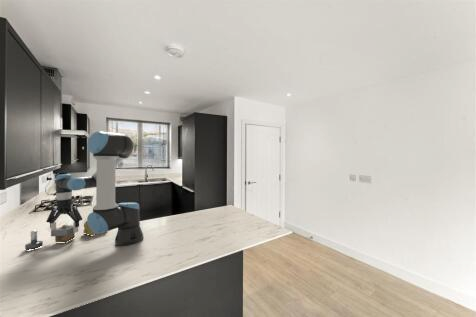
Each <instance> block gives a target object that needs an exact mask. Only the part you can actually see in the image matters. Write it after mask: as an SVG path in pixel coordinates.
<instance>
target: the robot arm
mask: <svg viewBox="0 0 476 317" xmlns="http://www.w3.org/2000/svg"><path fill="white" fill-rule="evenodd" d="M86 144H87V145H86V146H87V149H88V152H89V153H90V154H92V157H93V158H94V159H95V161H96V171H95V172H94V173H93V174H92V176H91V175H90V176H80V177H79V176H78V177H73V176H72V174H69V173H67V174H56V176H55V199H56V200H55V204H56V205H55V206H51V210H50V213H49V215H48V216H47V219H46V223H49V227H50V231H51V230H54V229H57V220H58V219H59V217H60V215H67V216H69V218H71V219H72V221H73V224H72V225H73V233H75V234H76V233H78V232H79V227H80V221H83V217H82V216H81V212H80V211H79V210H78V206H77V205H75V206H72V205H73V191H81V190H83V189H92V188H96V190H95V191H96V192H95V193H96V194H95V195H96V199H95V200H96V204H95V205H94V206H93V207H92V212H90V213H88V215H87V218H86V221H87V223H88V226H89V228H90V229H91V231H92V232H94V233H96V234H98V235H101V234H103V233H107V232H109V231H113V230H115V229H117V232H116V235H115V239H114V245H116V246H118V247H119V246H123V247H124V246H130V245H134V244H137V243H139V242H141V241H142V240H144V233H143V230H142V227H141V224H140V223H141V222H140V221H141V220H140V210H141V209H140V204H139V203H138V202H120V203H117V201H116V168H117V167H118V166H119V165H120V164H121V163H122V162H123V160H125V159H128V158H129V157H130V156H131V155H132V153H133V150H134V142H133V140H132V139H131V137H130V136H128V135H127V134H123V133H116V132H110V131H95V132H93V133H91V135H90V136H89V138H88V140H87V143H86ZM100 233H101V234H100Z"/></svg>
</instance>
